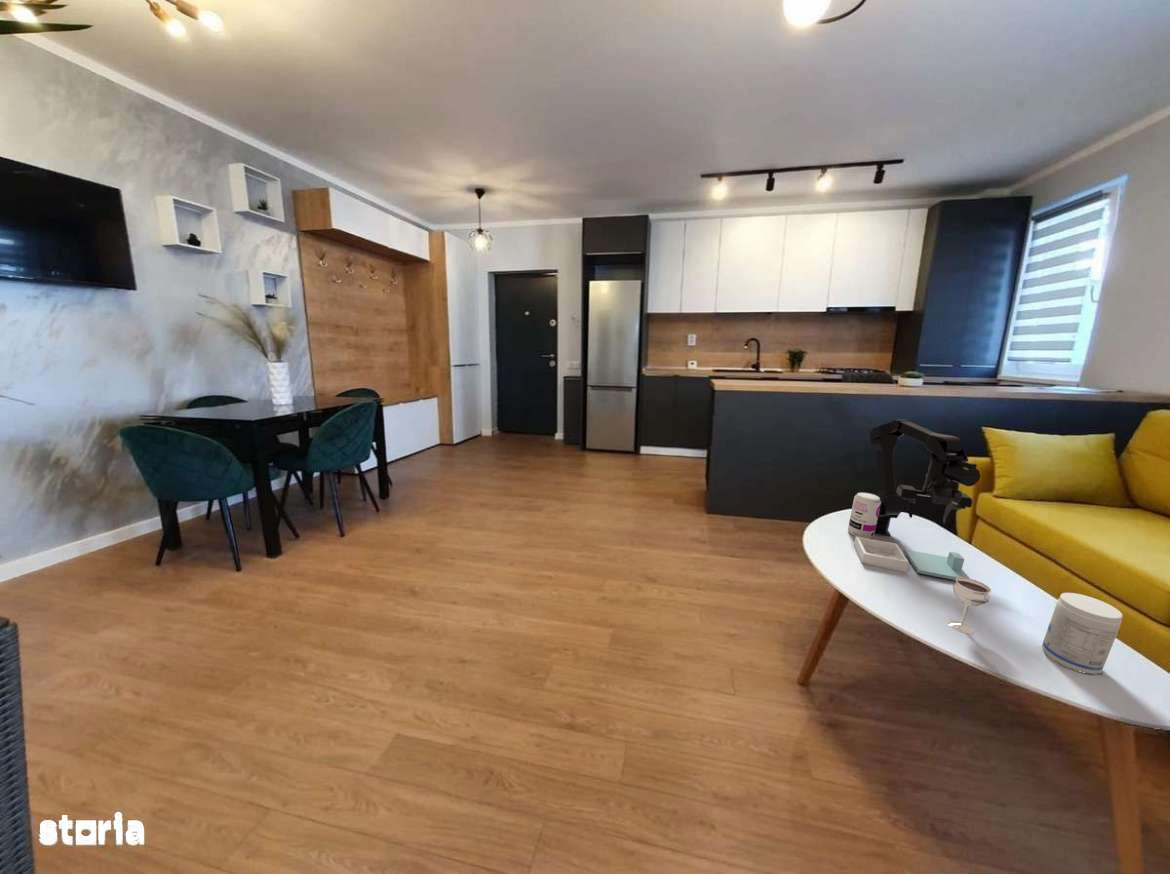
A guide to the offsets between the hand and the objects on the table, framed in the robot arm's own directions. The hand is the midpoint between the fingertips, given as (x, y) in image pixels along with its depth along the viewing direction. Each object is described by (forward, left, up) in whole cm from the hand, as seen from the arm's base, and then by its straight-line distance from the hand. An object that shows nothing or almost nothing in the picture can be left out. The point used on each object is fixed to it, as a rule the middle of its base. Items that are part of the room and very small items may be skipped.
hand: (927, 520), depth 142 cm
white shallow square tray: (+8, -13, -13) cm, 20 cm away
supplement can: (-10, -15, -13) cm, 22 cm away
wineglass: (+40, -2, -13) cm, 42 cm away
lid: (+8, +2, -12) cm, 15 cm away
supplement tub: (+44, +17, -13) cm, 49 cm away
